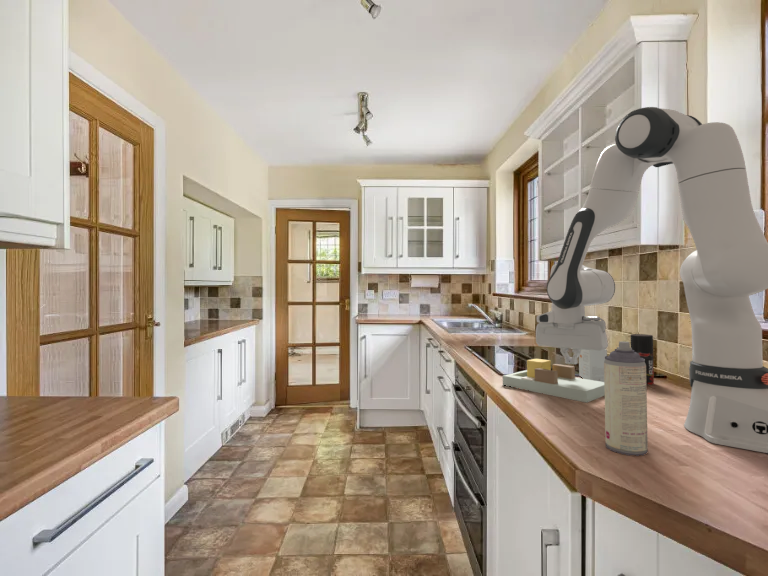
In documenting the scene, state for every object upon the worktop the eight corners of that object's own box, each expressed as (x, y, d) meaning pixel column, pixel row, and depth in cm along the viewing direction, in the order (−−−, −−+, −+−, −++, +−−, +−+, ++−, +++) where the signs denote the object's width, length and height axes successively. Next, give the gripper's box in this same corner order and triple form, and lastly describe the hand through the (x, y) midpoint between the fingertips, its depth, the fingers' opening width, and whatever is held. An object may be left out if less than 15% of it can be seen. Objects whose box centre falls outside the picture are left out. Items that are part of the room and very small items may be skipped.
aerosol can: (634, 441, 79) (632, 339, 79) (656, 456, 72) (654, 344, 72) (598, 441, 79) (596, 339, 80) (616, 455, 73) (614, 344, 73)
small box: (608, 382, 128) (607, 349, 128) (590, 382, 128) (589, 349, 128) (595, 377, 136) (594, 346, 136) (578, 377, 136) (578, 346, 136)
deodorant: (635, 379, 131) (634, 333, 131) (656, 382, 127) (655, 335, 127) (628, 382, 127) (627, 335, 128) (649, 385, 123) (648, 336, 123)
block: (551, 376, 124) (550, 360, 124) (542, 379, 121) (541, 362, 121) (536, 374, 128) (535, 358, 128) (527, 376, 125) (526, 360, 125)
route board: (609, 393, 115) (609, 370, 115) (586, 402, 106) (586, 377, 106) (527, 378, 135) (527, 359, 135) (502, 385, 127) (502, 364, 127)
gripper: (610, 315, 111) (613, 366, 111) (543, 315, 128) (546, 359, 128) (599, 317, 108) (602, 369, 107) (531, 316, 124) (534, 361, 124)
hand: (571, 363), depth 118 cm, fingers closed
